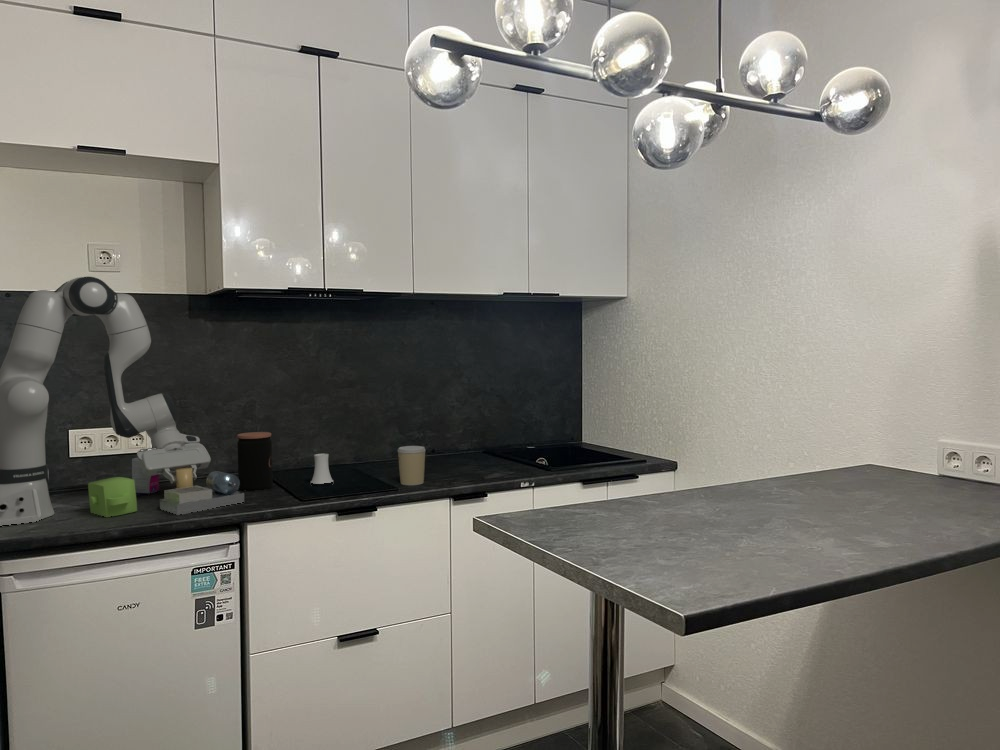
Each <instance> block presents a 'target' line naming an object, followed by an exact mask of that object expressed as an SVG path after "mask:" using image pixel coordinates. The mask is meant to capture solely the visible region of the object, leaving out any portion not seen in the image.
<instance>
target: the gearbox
mask: <svg viewBox="0 0 1000 750" xmlns="http://www.w3.org/2000/svg"><path fill="white" fill-rule="evenodd" d="M87 489H88V501H89V510H90V514H92V513H94V514H93V515H95V514H98V515H101V516H100V517H102V516H104V517H103V518H111V516H112V517H117V516H120V515H126V514H132V513H135V512H137V511H138V502H137V501H138V500H137V494H136V490H135V480H133V479H132V478H129V477H123V476H115V477H113V476H112V477H107V478H102V479H98V480H95V481H91V482H88V483H87ZM98 515H97V516H98Z"/></svg>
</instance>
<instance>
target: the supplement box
mask: <svg viewBox="0 0 1000 750" xmlns="http://www.w3.org/2000/svg"><path fill="white" fill-rule="evenodd" d="M131 479H133V480H135V490H136V495H140V494H148V495H151V494H154V493H157V491H158V492H160V482H159V481H160V474H159V475H152V476H146V475H144V474H143V472H142V468H141V463H140V460H139V459H138V457H134V458H131ZM150 493H151V494H150Z"/></svg>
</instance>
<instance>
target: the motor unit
mask: <svg viewBox="0 0 1000 750" xmlns="http://www.w3.org/2000/svg"><path fill="white" fill-rule="evenodd" d="M205 485H206V486H204V487H203V486H200V485H193V486H189V487H183V488H177V487H176V488H172V489H170V488H169V489H165V490H164V491H163V492H164V495H163V496H164V497H163V498H159V510H160V509H161V510H160V511H163V510H164V511H163V512H166V511H167V512H166V513H169V512H170V514H172V513H173V514H172V515H175V514H176V515H175V516H180V514H182V515H186V514H192V513H191V512H193V513H197V511H198V512H202V510H203V511H207V509H209V510H213V509H212V508H214V509H217V508H216V507H220V506H225V507H227V506H226V505H230V506H232V505H231V504H236V505H238V504H237V503H241V504H243V503H242V502H244V503H245V492H242V491H238V490H239V489H240V488H239V486H240V481H239V478H238V476H237V474H233V473H228V472H223V471H219V470H214V471H212V472H210V473H208V475H207V477H206V479H205ZM220 508H221V507H220Z"/></svg>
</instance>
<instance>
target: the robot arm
mask: <svg viewBox="0 0 1000 750" xmlns="http://www.w3.org/2000/svg"><path fill="white" fill-rule="evenodd" d="M93 315H94V316H96V317H98V318H99V319H100V320H101V321H102V323H103V325H104V327H105V330H106V333H107V336H108V338H109V347H108V351H107V352H106V353H105V354H104V356H103V369H104V376H105V377H104V378H105V384H106V390H107V397H108V401H109V407H110V416H109V418H110V425H111V427H112V430H113V431H114V433H115V434H116V435H117V436H120V437H123V438H126V439H130V438H133V437H134V436H137V435H139V434H141V433H145V432H146V434H147V436H148V438H150V444H151V446H152V447H147V448H141V449H140V450H138V451H137V452H136V458H138V459H139V460H140V463H141V468H142V472H143V474H144V475H146V476H152V475H159V476H160V475H163V477H165V478H166V479H167V480H169V482H170V484H171V485H173V484H176V483H177V481H178V479H177V478H176V475H173V474H172V473H176V469H179V468H192V472H193V481H197V474H196V473H197V470H201V469H207V468H208V467H209V465H210V463H211V461H212V458H211V456H210V454H209V452H208V450H207V449H206V447H205V445H203V444H202V443H201V439H200V437H199V436H196V435H189V434H184V433H181V432H180V430H178V428H177V423H178V421H179V418H180V412H179V409H178V408H177V406H176V404H175V403H174V398H173V397H172V396H170V395H169V394H166V393H163V392H162V393H157V394H154V395H151V396H147V397H145V398H142V399H137V400H135V401H133V402H128V403H127V402H125V399H124V398H125V397H124V392H123V391H124V390H123V386H122V385H123V384H122V375H123V372H124V371H125V370H126V369H127V368H128V367H130V366H131V365H132V364H133V363H135V362H136V361H138V360H139V359H141V358H142V357H143V356H144V355H145V354H146V353H147V352H148V350H149V349H150V347H151V343H152V337H151V333H150V330H149V329H150V328H149V325H148V324H147V321H146V319H145V316H144V313H143V312H142V310H141V308H140V306H139V304H138V303H137V301H136V299H135V297H133V296H132V295H130V294H128V293H123V292H121V293H119V292H117V293H116V292H115V291H114V290H113V288H111V286H109V285H108V284H107V283H106V282H105V281H104V280H102V279H99V278H97V277H95V276H94V277H93V276H80V277H75V278H72V279H70V280H68V281H65V282H64V283H63V284H62V285H60V286H59V287H58V288H57V289H56V290H54V291H52V290H47V289H40V290H39V289H38V290H35V291H33V292H31V293H30V294H29V295H28V297H27V299H26V300H25V303H24V305H23V306H22V308H21V310H20V313H19V315H18V318H17V321H16V325H15V328H14V331H13V334H12V338H11V340H10V344H9V347H8V350H7V352H6V355H5V358H4V359H3V362H2V364H1V367H0V526H2V525H9V526H12V525H11V524H17V525H22V524H21V523H24V524H30V523H29V522H32V523H36V521H37V522H39V520H40V521H42V520H43V519H46V518H49V517H51V516H54V514H56V513H55V511H54V507H53V505H52V502H51V497H50V492H49V486H48V484H49V479H50V477H49V468H48V467H49V466H48V464H47V463H46V460H47V459H46V430H47V429H46V428H47V421H48V409H49V401H50V395H49V391H48V389H47V388H46V386H45V385H44V382H45V379H46V377H47V375H48V373H49V371H50V369H51V368H52V365H53V364H54V362H55V360H56V356H57V353H58V350H59V349H58V348H59V346H60V342H61V339H62V336H63V332H64V327H65V324H66V323H67V321H68V319H69V318H70V317H71V316H75V317H78V316H79V317H80V316H84V317H87V316H93ZM41 519H42V520H41ZM2 527H3V526H2Z"/></svg>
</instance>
